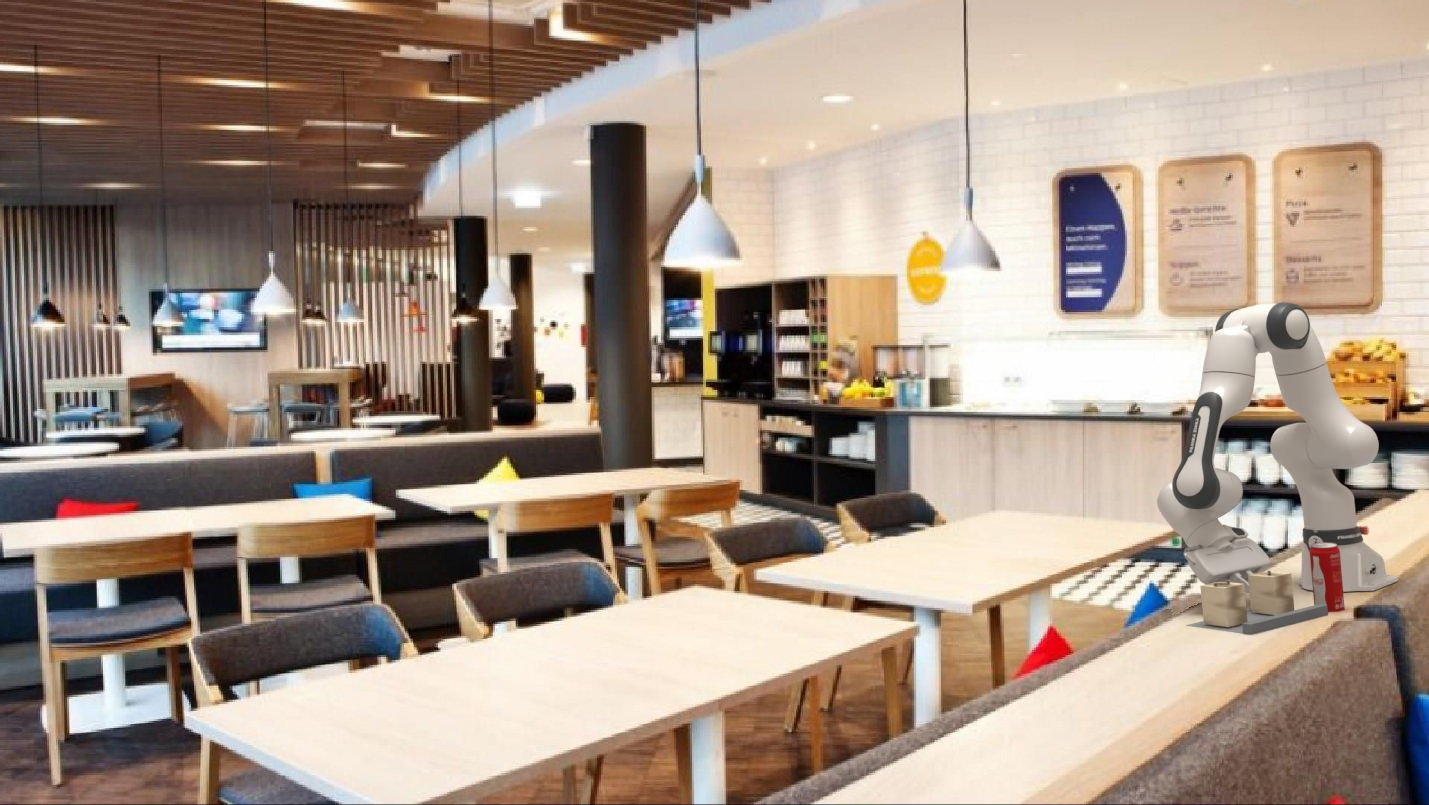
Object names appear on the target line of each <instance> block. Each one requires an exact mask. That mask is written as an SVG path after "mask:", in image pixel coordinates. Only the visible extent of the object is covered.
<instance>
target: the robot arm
mask: <svg viewBox="0 0 1429 805" xmlns="http://www.w3.org/2000/svg"><path fill="white" fill-rule="evenodd" d="M1268 352H1269V353H1270V355H1271V360H1272V365H1273V366H1272V367H1273V369H1274V372H1275V373H1274V374H1275V378H1276V381H1277V384H1278V388H1279V390H1280V394H1281V397H1282V401H1283V404H1284V405H1285V406H1286V408H1288V409H1290V410H1291V411H1293V413H1294V412H1295V413H1296V414H1298V415H1299V416H1300V417H1301V418H1302V419H1303V420H1304V421H1305V422H1296V423H1295V422H1294V423H1291V424H1286V425H1283V426H1280V427H1279V428H1277V429H1276V430H1275V431H1274V433H1273V434H1272V436H1271V438H1270V443H1269V444H1270V451H1271V455H1272V457H1273V459H1274V460H1275V462H1277V463H1278V464H1279V465H1281V467H1283V468H1284V469H1285V470H1286V471H1287V472H1288V474H1289V475H1290V477H1291V478H1292V480H1293V482H1294V483H1295V485H1296V488H1297V492H1298V494H1299V498H1300V502H1301V508H1302V517H1303V528H1302V534H1301V535H1302V540H1303V541H1302V542H1303V543H1304V544H1305V546H1304V548H1303V549H1302V551H1301V579H1298V580H1297V581H1298V582H1297V584H1298V585H1299V586H1301V589H1305V590H1308V591H1313V585H1312V574H1311V562H1310V549H1311V545H1312V544H1315V543H1325V542H1326V543H1335V544H1337V546H1338V548H1339V550H1340V559H1341V571H1342V582H1343V593H1344V592H1372V591H1373V592H1374V591H1376V590H1379V589H1382V588H1384V587H1386V586H1388V585H1391V584H1394V583H1397V582H1398V581H1399V579H1398V576H1395V575H1392V574H1391V575H1390V574H1386V573H1387V571H1386V565H1385V560H1384V557H1383V556H1382V555H1381V554H1380V553H1378V552H1377V551H1375V550H1374V549H1373V548H1372V547H1370V546H1369V545H1367V544H1366V542H1364V537H1363V535H1364V536H1368V535H1369V534H1370V529H1369V526H1367V525H1366V526H1361V525H1360V526H1358V525H1357V518H1356V504H1355V496H1354V494H1353V492H1352V490H1351V489H1349V488H1348V487H1347V486H1345V485H1344V484H1342V483H1341V482H1340V481H1339V480H1338V479H1337V477H1336V475H1335V473H1334V471H1333V470H1336V469H1337V470H1349V469H1350V470H1351V469H1356V468H1359V467H1364V466H1368V465H1370V464H1371V463H1373V462H1374V460H1375V459H1376V457H1377V455H1378V453H1379V448H1380V447H1379V445H1380V444H1379V440H1378V436H1377V434H1376V432H1375V431H1374V429H1373V428H1372V427H1371V426H1369V425H1368V424H1366V423H1364V422H1362V421H1361V420H1359V419H1358V418H1357V417H1355V415H1353V414H1352V412H1351V411H1350V410H1349V409H1348V408H1347V406H1346V405H1345V404H1344V403H1343V401H1342V400H1341V398H1340V396H1339V395H1338V392H1337V390H1336V388H1335V385H1334V382H1333V379H1332V376H1331V373H1330V370H1329V366H1328V363H1327V360H1326V356H1325V353H1324V350H1323V347H1322V345H1321V343H1320V340H1319V339H1318V336H1317V334H1316V332H1315V330H1314V329H1313V327H1312V326H1311V322H1310V319H1309V315H1308V314H1307V312H1306V311H1305V310H1304V309H1303V307H1302V306H1300V305H1299V304H1296V303H1292V302H1286V301H1281V302H1278V303H1277V302H1276V303H1271V302H1270V303H1259V304H1255V305H1252V306H1245V307H1243V308H1235V309H1231V310H1229V311H1227V312H1225V313H1223V314H1222V315H1221V316H1220V317H1219V319H1218V321H1217V322H1216V325H1215V330H1214V333H1212V335H1211V337H1210V339H1209V342H1208V345H1207V348H1206V352H1205V356H1204V362H1203V367H1202V374H1201V382H1200V387H1199V388H1200V389H1199V394H1198V397H1197V400H1196V401H1195V404H1194V406H1193V408H1192V409H1193V410H1192V413H1191V417H1190V422H1189V426H1188V427H1189V428H1188V431H1187V436H1186V442H1185V447H1184V451H1183V455H1182V459H1181V462H1180V463H1179V466H1178V468H1177V469H1176V471H1175V473H1174V475H1173V478H1172V481H1171V482H1169V483H1168V484H1166V485H1165V486H1164V487H1163V488H1162V489H1161V490H1160V492H1159V494H1158V496H1157V499H1156V504H1157V508H1158V510H1159V512H1160V514H1161V515H1162V517H1163V519H1165V521H1166V522H1167V524H1168V525H1169V526H1170V527H1171V528H1172V530H1174V533H1175V532H1176V534H1178V535H1180V537H1181V538H1182V539H1183V541H1184V542H1185V544H1186V545H1187V547H1186V548H1184V551H1183V557H1184V558H1185V559H1186V560H1187V563H1188V565H1189V567H1190V569H1191V571H1192V572H1193V573H1194V575H1195V577H1196V578H1197V579H1198V580H1199V582H1200V583H1202V584H1203V585H1206V584H1210V583H1215V582H1216V581H1230V582H1231V583H1241V584H1244V587H1245V594H1250V592H1249V581H1248V575H1251V574H1255V573H1260V572H1264V571H1267V569H1269V567H1270V565H1271V562H1272V561H1271V559H1270V557H1269V555H1268V554H1267V553H1266V552H1265V551H1264V550H1263V548H1262V547H1261V546H1260V545H1259V544H1258V543H1257V542H1256V541H1254V540H1253V539H1252V538H1250V537H1248V536H1249V533H1248V531H1246V529H1244V528H1243V527H1236V526H1235V527H1234V526H1230V525H1226V524H1222V522H1221V521H1220V520H1219V518H1221V517H1223V516H1225V515H1226V514H1228V513H1229V512H1231V511H1232V510H1233V509H1235V508H1236V507H1237V506H1238V505H1239V504H1240V503H1241V501H1242V499H1243V495H1244V487H1243V483H1242V481H1241V479H1240V478H1239V477H1238V475H1236V474H1235V473H1234V472H1231V471H1228V470H1226V469H1225V470H1224V469H1221V468H1217V467H1215V462H1214V461H1215V454H1216V451H1217V445H1218V440H1219V435H1220V431H1221V428H1222V426H1223V424H1225V422H1226V421H1227V420H1228V419H1229V418H1231V417H1233V416H1236V415H1238V414H1240V413H1242V412H1243V411H1244V410H1245V409H1247V408H1248V407H1249V405H1250V402H1251V400H1252V397H1253V394H1254V389H1255V380H1256V368H1257V367H1256V366H1257V364H1256V363H1257V360H1256V359H1257V356H1258V355H1259V354H1265V353H1268Z"/></svg>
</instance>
